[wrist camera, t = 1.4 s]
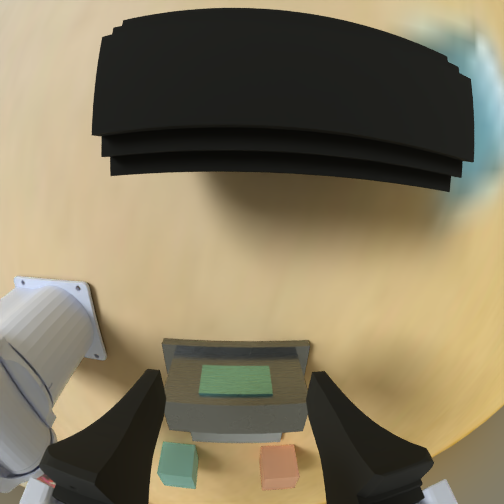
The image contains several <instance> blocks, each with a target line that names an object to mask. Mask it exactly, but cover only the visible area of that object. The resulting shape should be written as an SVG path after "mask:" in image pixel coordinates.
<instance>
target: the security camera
mask: <svg viewBox="0 0 504 504" xmlns="http://www.w3.org/2000/svg"><path fill="white" fill-rule="evenodd" d="M92 135H94V136H102V157H110V172H111V176H117V175H130V174H146V173H167V172H210V171H228V172H271V173H293V174H309V175H323V176H335V177H346V178H356V179H365V180H374V181H382V182H390V183H397V184H404V185H411V186H417V187H423V188H429V189H435V190H441V191H446V192H450V181H451V176H454V177H460V178H461V176H462V161H467V162H474V110H473V96H472V86H471V79H470V78H468V77H466V76H464V75H462V74H460V73H459V68H458V67H457V66H455V65H453V64H451V63H449V62H448V60H447V56H445V55H443V54H440V53H438V52H436V51H434V50H432V49H429V48H427V47H425V46H422V45H420V44H418V43H415V42H412V41H410V40H407V39H405V38H402V37H399V36H396V35H393V34H390V33H387V32H384V31H381V30H378V29H375V28H371V27H368V26H364V25H360V24H357V23H353V22H349V21H344V20H340V19H335V18H330V17H325V16H319V15H314V14H307V13H300V12H292V11H283V10H272V9H256V8H211V9H195V10H183V11H174V12H167V13H160V14H153V15H147V16H142V17H137V18H132V19H127V20H123V24H122V26H119V27H115V28H113V33H112V35H108V36H104V37H102V42H101V47H100V53H99V59H98V66H97V74H96V82H95V92H94V103H93V119H92Z"/></svg>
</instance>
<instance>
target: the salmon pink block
mask: <svg viewBox="0 0 504 504" xmlns="http://www.w3.org/2000/svg"><path fill="white" fill-rule="evenodd" d="M260 472H261V484H262V490H276V489H288V488H295V486H296V484H297V481H298V479H299V477H300V475H299V470H298V464H297V459H296V453H295V448H294V444H292V445H279V446H261V453H260Z"/></svg>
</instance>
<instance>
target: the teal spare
mask: <svg viewBox="0 0 504 504" xmlns="http://www.w3.org/2000/svg"><path fill="white" fill-rule="evenodd" d="M197 470H198V455H197V451H196V447H195V445H190V444H180V443H171V442H163V445H162V450H161V455H160V460H159V466H158V471H157V474H158V476H159V477H160V479H161V481H162V482H163V484H164V485H167V486H174V487H182V488H191V489H196V482H197Z"/></svg>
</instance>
